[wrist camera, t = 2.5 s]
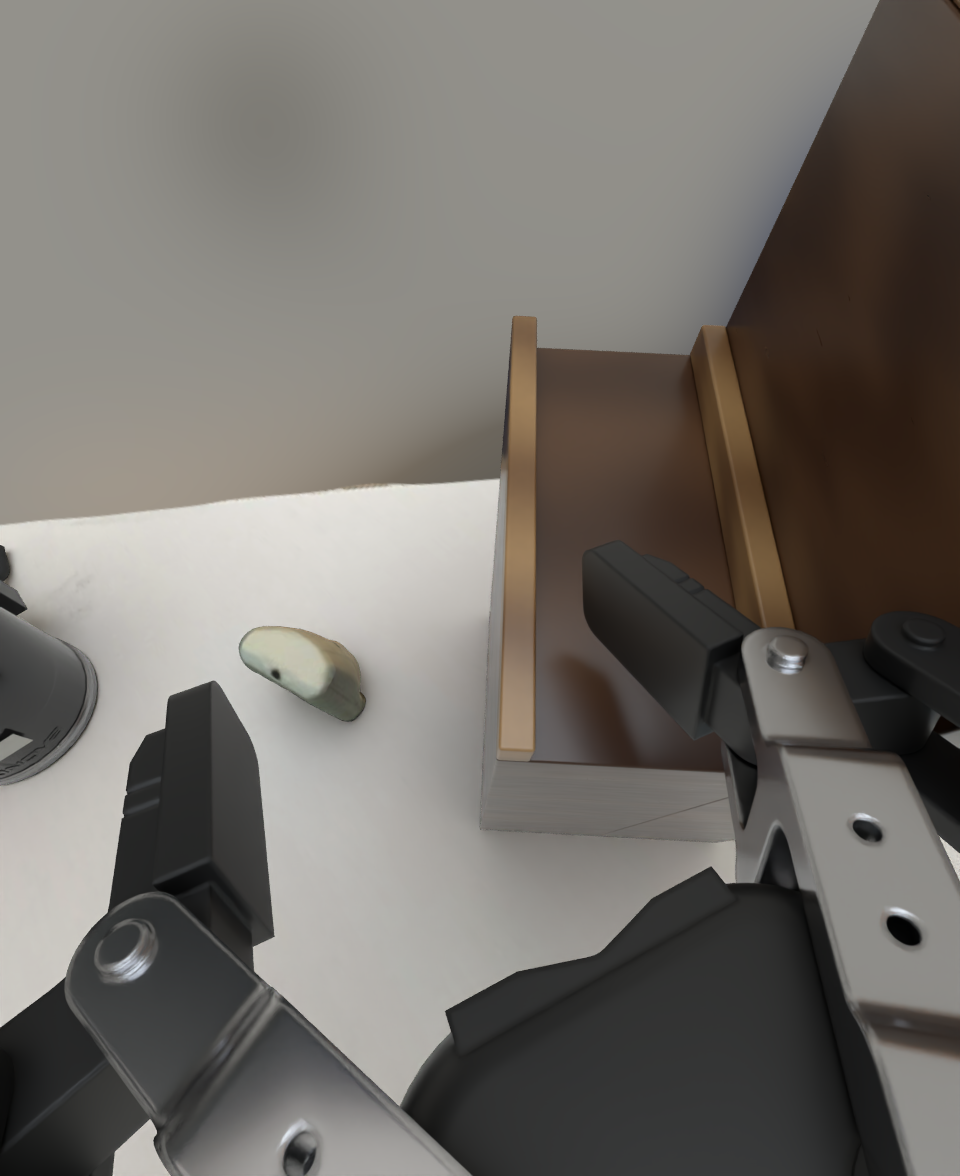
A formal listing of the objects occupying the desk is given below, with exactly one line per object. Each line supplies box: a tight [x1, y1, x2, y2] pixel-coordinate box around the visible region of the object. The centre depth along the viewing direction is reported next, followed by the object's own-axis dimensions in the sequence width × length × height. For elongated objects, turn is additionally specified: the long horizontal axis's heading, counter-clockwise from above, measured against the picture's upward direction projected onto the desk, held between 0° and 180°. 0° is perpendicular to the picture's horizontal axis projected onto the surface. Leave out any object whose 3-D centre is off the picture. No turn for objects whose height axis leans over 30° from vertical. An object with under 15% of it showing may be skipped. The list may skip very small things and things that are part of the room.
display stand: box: [480, 0, 960, 842], centre depth 21 cm, size 14×14×33 cm
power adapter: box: [239, 626, 366, 722], centre depth 33 cm, size 6×5×8 cm
